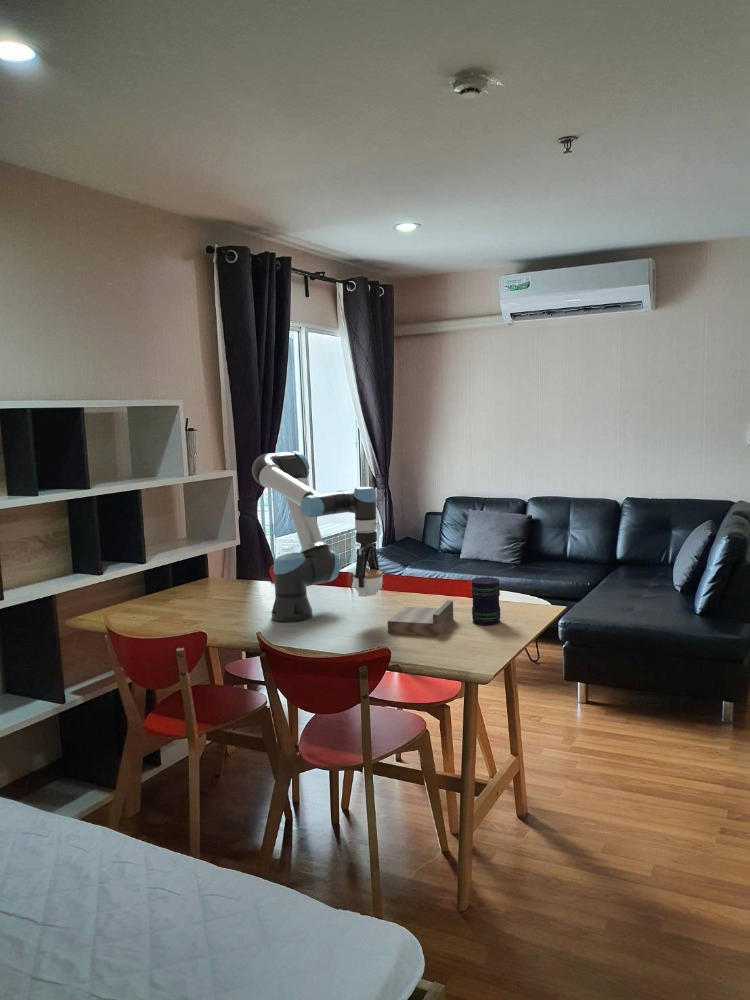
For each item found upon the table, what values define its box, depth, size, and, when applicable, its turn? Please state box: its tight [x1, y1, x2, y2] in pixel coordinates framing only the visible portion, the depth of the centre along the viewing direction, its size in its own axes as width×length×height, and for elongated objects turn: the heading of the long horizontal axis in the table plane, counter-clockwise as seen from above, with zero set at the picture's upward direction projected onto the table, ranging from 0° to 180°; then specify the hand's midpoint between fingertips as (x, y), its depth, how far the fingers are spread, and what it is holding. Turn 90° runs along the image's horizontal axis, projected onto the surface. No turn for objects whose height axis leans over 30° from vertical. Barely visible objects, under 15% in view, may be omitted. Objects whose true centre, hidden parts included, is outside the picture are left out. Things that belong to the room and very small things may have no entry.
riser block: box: [387, 600, 455, 636], centre depth 267 cm, size 18×20×7 cm
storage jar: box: [470, 576, 501, 627], centre depth 268 cm, size 10×10×15 cm
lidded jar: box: [352, 567, 384, 597], centre depth 273 cm, size 11×11×9 cm
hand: (368, 592), depth 273 cm, fingers closed on lidded jar, 11 cm apart
